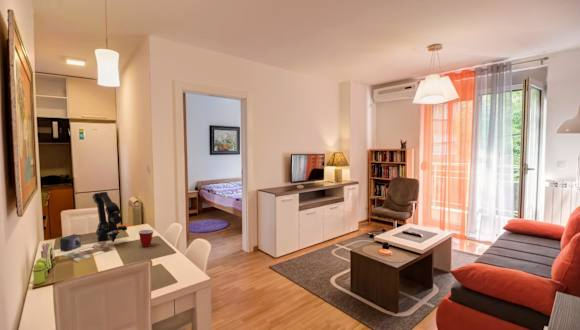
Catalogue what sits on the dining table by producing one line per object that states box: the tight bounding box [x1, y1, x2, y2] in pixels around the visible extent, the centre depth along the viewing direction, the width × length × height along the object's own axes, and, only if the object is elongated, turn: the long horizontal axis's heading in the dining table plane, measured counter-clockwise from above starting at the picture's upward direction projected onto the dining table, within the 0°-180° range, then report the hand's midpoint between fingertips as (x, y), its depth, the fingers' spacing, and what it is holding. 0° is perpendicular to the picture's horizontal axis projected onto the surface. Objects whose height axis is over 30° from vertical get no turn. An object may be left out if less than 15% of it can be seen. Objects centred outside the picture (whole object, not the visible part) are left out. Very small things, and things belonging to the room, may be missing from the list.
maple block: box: [93, 241, 109, 252], centre depth 203 cm, size 6×6×4 cm
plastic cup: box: [138, 229, 155, 248], centre depth 213 cm, size 11×11×12 cm
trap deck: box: [63, 245, 115, 264], centre depth 196 cm, size 23×20×3 cm
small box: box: [59, 233, 81, 252], centre depth 203 cm, size 11×6×10 cm, turn 168°
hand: (113, 241), depth 210 cm, fingers closed
